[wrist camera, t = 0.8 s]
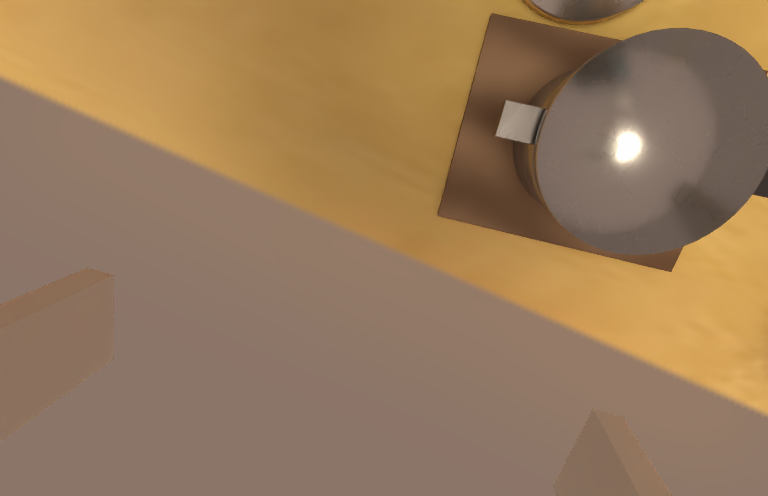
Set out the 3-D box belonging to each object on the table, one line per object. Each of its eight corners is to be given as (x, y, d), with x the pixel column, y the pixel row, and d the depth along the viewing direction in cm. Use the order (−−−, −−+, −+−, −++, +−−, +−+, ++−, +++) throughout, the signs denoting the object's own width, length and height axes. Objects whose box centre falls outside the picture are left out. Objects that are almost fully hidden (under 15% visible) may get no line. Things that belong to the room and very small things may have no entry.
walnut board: (490, 16, 28) (491, 13, 28) (758, 72, 27) (768, 71, 27) (437, 214, 33) (437, 216, 32) (665, 268, 32) (671, 272, 31)
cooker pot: (464, 194, 32) (474, 219, 23) (509, 36, 28) (540, -3, 19) (662, 241, 31) (749, 285, 22) (735, 84, 27) (872, 65, 19)
